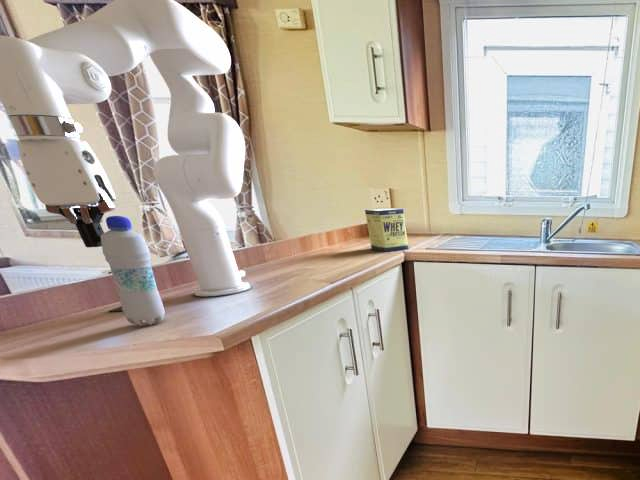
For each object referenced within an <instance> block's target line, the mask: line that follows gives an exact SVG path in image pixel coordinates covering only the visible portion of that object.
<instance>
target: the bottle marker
mask: <svg viewBox="0 0 640 480" xmlns="http://www.w3.org/2000/svg"><path fill="white" fill-rule="evenodd" d="M118 312H119V313H120V312H123V310H122V306H118V307H116V308H113V309H110V310H108V313H118Z"/></svg>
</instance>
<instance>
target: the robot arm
mask: <svg viewBox="0 0 640 480" xmlns="http://www.w3.org/2000/svg"><path fill="white" fill-rule="evenodd" d="M148 57H150V58H151V61H152V62H153V64H154V66H155V67H156V69H157V71H158V72H159V75H160V76H161V77H162V79H163V81H164V83H165V85H166V86H167V89H168V90H169V94H170V107H169V115H168V122H167V140H168V144H169V146H170V147H171V149H172V150H173V151H174V152H175V153H176V154H172V155H167V156H163V157H161V158H160V159H158V160H157V161H156V162H155V163H154V166H153V176H154V180H155V182H156V184H157V185H158V187H159V189H160V191H161V192H162V195H163V196H164V198H165V200H166V202H167V204H168V206H169V208H170V210H171V212H172V214H173V217H174V220H175V222H176V225H177V228H178V230H179V233H180V236H181V237H180V238H181V239H182V242H183V245H184V248H185V251H186V253H187V256H188V259H189V261H190V265H191V268H192V270H193V273H194V275H195V278H196V281H197V284H198V287H197V288H195V289H193V294H194V296H196V297H217V296H218V297H219V296H227V295H232V294H237V293H238V294H239V293H241V292H244V291H247V290H250V289H251V285H250V283H249V282H247V281H246V282H245V281H242V278H245V277H246V271H244V270H242V269H240V270H239V267H238V265H237V261H236V258H235V255H234V252H233V249H232V245H231V242H230V239H229V236H228V233H227V232H228V231H227V229H226V225H225V222H224V220H223V217H222V216H221V214H220V213H219V211H218V210H217V209H216V208H215V207H214V206H213V204H211V202H209V200H225V199H226V200H227V199H233V198H237V196H238V195H239V194H240V193H241V192H242V187H243V182H244V171H245V160H246V159H245V158H246V142H245V137H244V134H243V131H242V129H241V127H240V126H239V124H238V122H237V121H236V120H235V119H234V118H232V117H231V116H230V115H229V114H226V113H224V112H218V111H217V112H215V111H216V110H215V109H216V108H215V104H214V102H213V100H212V98H211V97H210V95H209V94H208V93H207V92H206V91H205V90H204V89H203V88H202V87H201V86H200V85H199V84H198V83H197V82H196V80H195V78H193V77H195V76H214V75H215V76H216V75H223V74H226V73H227V72H228V71H229V70H230V69H231V65H232V58H231V54H230V51H229V49H228V47H227V44H226V42H224V40H223V39H222V37H221V36H220V35H219V34H218V33H217V32H216V30H214V29H213V28H212V27H211V26H209V25H208V24H207V23H205V22H204V21H203V20H202V19H201V18H199V17H198V16H197V15H195V14H194V13H193V12H191V11H190V10H189V9H187V7H185V6H183V5H182V4H180V3H179V2H177V1H175V0H112V1H110V2H109V3H107V4H106V5H104V6H103V7H101V8H100V9H98V10H97V11H95V12H93V13H92V14H90V15H89V16H87V17H86V18H84V19H81V20H79V21H75V22H72V23H70V24H66V25H65V26H62V27H60V28H57V29H54V30H51V31H48V32H45V33H43V34H40V35H37V36H35V37H32V38H30V39H28V40H26V39H22V38H20V37H19V38H18V37H14V36H8V35H0V102H1V104H2V106H3V109H4V110H5V113H6V115H7V117H8V119H9V122H10V124H11V125H12V128H13V130H14V132H15V134H16V136H17V138H18V140H17V141H16V144H17V149H18V152H19V156H20V160H21V163H22V166H23V170H24V172H25V174H26V177H27V180H28V181H29V184H30V186H31V188H32V191H33V192H34V194H35V196H36V198H37V199H38V200H39V202H40V203H42V204H43V205H44V206H45V210H46V212H48V213H50V214H55V215H60V216H62V217H64V218H65V219H67V220H68V222H69V223H70V224H72V225H75V228H76V229H77V231H78V234H79V236H80V239H81V240H82V242H83V244H84V246H85V247H86V248H99V247H101V248H102V243H101V234H103V233H105V231H104V229H103V227H102V224H101V223H103V219H104V218H103V217H104V215H105V213H109V212H113V211H114V210H115V209H116V207H115V205H114V202H116V200H117V196H116V193H115V191H114V188H113V186H112V184H111V181H110V179H109V178H108V177H109V176H108V175H107V173H106V172H105V170H104V167H103V166H102V164H101V162H100V160H99V158H98V157H97V155H96V154H95V152H94V150H93V148H92V147H91V145H90V144H89V143H88V141H85V140H81V137H80V135H79V133H82V132H83V127H82V126H81V124H80V123H78V122H74V120H73V117H72V115H71V113H70V111H69V109H68V106H67V105H92V104H98V103H102V102H104V101H106V100H107V99H109V97H110V96H111V94H112V84H111V80H110V78H109V77H114V76H118V75H122V74H126V73H128V72H130V71H132V70H134V69H135V68H136V67H137V66H138V65H139V64H141V62H143V61H144V60H145V59H146V58H148Z"/></svg>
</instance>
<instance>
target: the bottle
mask: <svg viewBox="0 0 640 480" xmlns="http://www.w3.org/2000/svg"><path fill="white" fill-rule="evenodd" d="M105 223H106V226H107V229H108V230H107V231H106V232H105V231H104V233H103V234H101V243H102V246H101V248H102V249H101V250H102V254H103V256H104V258H105V259H104V260H105V261H106V262H107V263H108V265H109V267H110V272H111V275H112V277H113V281H114V283H115V286H116V290H117V292H118V297H119V301H120V305H121V306H122V310H123V311H122V312H123V315H124V318H125V319H126V321H127V322H128V323H129V324H132V325H137V326H142V325H143V321H146V323H147V324H148V325H150V326H151V325H153V324H154V321H155V323H157V324H159V323H162V322H163V320H164V319H165V316H166V311H165V307H164V304H163V301H162V298H161V296H160V292H159V290H158V286H157V282H156V280H155V275H154V272H153V268H152V264H151V260H152V257H151V251H150V249H149V247H148V245H147V242H146V240H145V238H144V236H143V234H140V233H138V232H136V231H134V230H133V226H132V225H133V224H132V222H131V220H130V219H129V218H128V217H126V216H121V215H112V216H107V217H106V218H105ZM121 306H120V307H121Z"/></svg>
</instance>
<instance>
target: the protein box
mask: <svg viewBox="0 0 640 480" xmlns="http://www.w3.org/2000/svg"><path fill="white" fill-rule="evenodd" d="M364 213H365V217H366V218H365V219H366V224H367V230H368V236H369V242H370V248H371V249H373V250H376V251H377V250H378V251H381V252H394V251H401V250H408V249H409V243H408V235H407V229H406V219H405V213H404V208H373V209H364Z"/></svg>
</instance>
